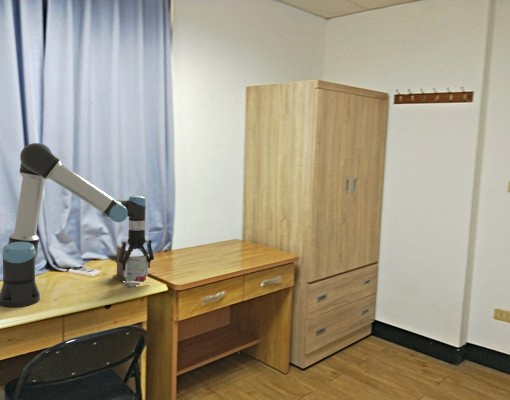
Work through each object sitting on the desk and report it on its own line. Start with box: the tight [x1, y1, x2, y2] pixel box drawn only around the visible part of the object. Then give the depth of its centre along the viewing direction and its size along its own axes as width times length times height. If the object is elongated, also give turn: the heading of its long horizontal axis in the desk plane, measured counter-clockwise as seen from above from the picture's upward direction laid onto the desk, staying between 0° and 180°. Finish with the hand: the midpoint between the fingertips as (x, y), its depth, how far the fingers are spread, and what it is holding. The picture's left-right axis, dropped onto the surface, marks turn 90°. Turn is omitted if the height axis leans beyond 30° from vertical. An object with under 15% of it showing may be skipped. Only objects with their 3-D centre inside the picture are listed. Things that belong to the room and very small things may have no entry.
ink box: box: [126, 254, 147, 282], centre depth 219 cm, size 9×5×12 cm, turn 84°
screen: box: [112, 245, 128, 283], centre depth 227 cm, size 3×12×15 cm, turn 33°
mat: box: [122, 281, 141, 289], centre depth 220 cm, size 10×10×1 cm
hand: (135, 275), depth 220 cm, fingers closed on ink box, 9 cm apart
